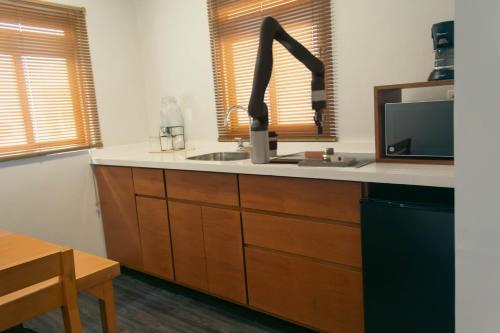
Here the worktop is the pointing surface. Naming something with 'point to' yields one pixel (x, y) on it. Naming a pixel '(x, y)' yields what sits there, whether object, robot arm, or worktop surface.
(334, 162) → the stand base
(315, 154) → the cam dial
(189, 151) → the worktop surface
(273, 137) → the coffee cup
